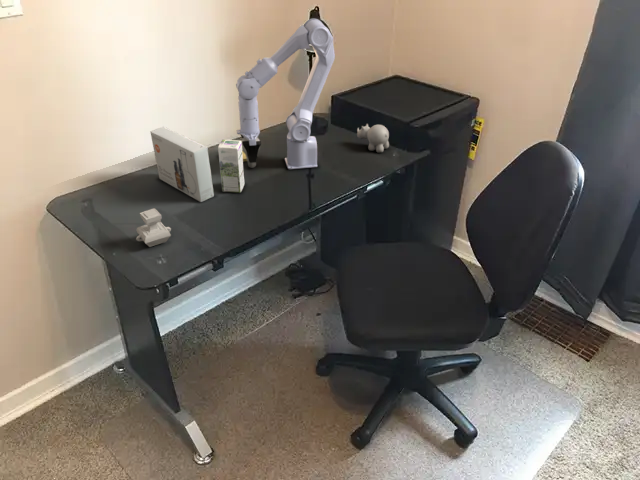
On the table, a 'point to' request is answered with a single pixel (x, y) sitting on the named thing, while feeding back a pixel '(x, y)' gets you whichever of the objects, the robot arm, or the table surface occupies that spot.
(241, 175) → the syrup box
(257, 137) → the lightbulb
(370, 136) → the toy rhinoceros
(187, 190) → the skincare box
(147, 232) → the stamp
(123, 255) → the table surface
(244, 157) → the sticky note pad
